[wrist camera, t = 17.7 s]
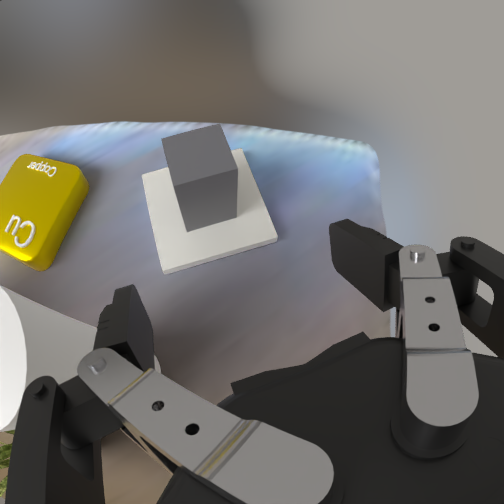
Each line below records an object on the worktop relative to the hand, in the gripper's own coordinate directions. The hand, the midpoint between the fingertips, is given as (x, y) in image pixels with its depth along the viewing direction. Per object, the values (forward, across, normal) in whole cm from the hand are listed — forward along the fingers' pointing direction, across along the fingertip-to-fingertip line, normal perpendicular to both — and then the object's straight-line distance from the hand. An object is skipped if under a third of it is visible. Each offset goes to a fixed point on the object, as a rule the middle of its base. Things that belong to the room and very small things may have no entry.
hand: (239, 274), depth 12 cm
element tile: (+35, +23, 0) cm, 42 cm away
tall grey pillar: (+28, -2, +4) cm, 28 cm away
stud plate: (+29, -2, +5) cm, 29 cm away
